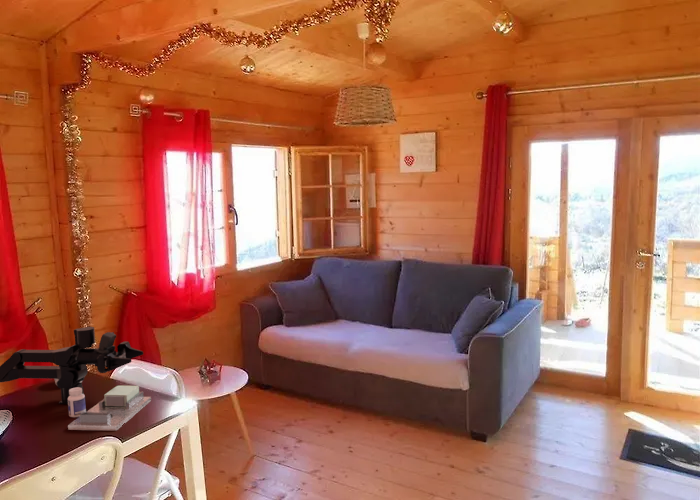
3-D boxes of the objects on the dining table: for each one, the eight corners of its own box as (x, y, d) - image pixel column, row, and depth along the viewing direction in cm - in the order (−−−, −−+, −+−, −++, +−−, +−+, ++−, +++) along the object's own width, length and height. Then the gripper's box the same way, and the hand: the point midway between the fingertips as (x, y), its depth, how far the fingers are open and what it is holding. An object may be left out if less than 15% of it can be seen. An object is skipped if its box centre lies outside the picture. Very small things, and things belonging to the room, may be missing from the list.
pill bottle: (89, 411, 193) (87, 386, 192) (80, 417, 188) (78, 392, 187) (74, 411, 194) (72, 386, 193) (65, 417, 189) (63, 391, 188)
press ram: (104, 406, 193) (103, 395, 192) (118, 396, 202) (117, 385, 202) (126, 407, 192) (125, 395, 192) (139, 396, 202) (138, 385, 201)
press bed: (68, 429, 179) (67, 416, 178) (108, 400, 203) (107, 388, 203) (116, 430, 177) (115, 416, 177) (151, 400, 202) (150, 388, 202)
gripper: (78, 341, 191) (123, 341, 189) (107, 327, 209) (147, 328, 208) (81, 373, 192) (125, 373, 191) (109, 357, 210) (149, 357, 209)
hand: (137, 356), depth 200 cm, fingers open, 9 cm apart
